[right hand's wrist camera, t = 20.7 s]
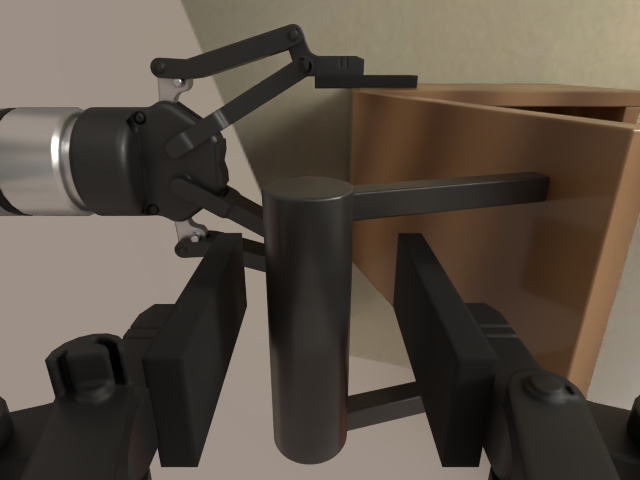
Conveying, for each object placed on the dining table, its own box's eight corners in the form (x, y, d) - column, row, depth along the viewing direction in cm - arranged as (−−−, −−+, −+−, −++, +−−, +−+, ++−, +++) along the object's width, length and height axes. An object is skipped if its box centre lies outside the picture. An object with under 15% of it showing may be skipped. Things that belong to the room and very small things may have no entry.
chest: (552, 84, 34) (645, 90, 24) (529, 206, 38) (601, 255, 28) (351, 83, 35) (360, 90, 25) (347, 204, 38) (354, 253, 28)
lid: (665, 127, 9) (281, 146, 7) (567, 467, 13) (294, 551, 11) (368, 90, 24) (212, 92, 22) (361, 256, 28) (227, 272, 26)
